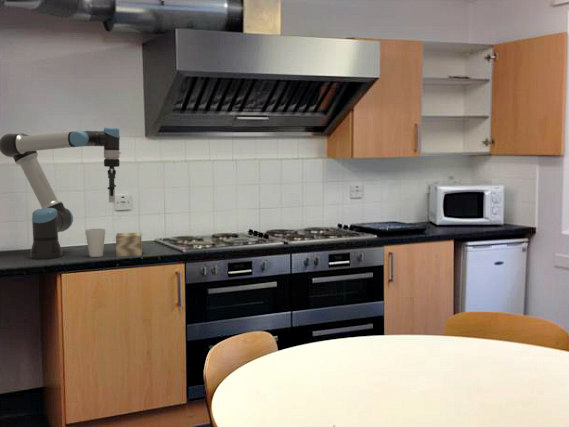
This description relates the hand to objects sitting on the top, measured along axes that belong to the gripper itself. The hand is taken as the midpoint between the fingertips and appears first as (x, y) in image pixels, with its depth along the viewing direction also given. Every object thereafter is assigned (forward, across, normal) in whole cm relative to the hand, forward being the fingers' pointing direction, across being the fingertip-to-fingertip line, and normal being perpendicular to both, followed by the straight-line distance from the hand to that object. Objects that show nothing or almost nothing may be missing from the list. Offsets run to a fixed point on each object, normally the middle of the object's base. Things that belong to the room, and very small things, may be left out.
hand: (111, 201), depth 365 cm
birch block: (+26, -6, -9) cm, 28 cm away
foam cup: (+27, -6, +8) cm, 28 cm away
